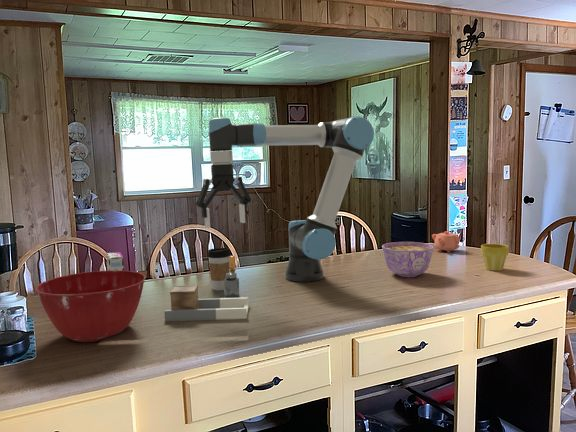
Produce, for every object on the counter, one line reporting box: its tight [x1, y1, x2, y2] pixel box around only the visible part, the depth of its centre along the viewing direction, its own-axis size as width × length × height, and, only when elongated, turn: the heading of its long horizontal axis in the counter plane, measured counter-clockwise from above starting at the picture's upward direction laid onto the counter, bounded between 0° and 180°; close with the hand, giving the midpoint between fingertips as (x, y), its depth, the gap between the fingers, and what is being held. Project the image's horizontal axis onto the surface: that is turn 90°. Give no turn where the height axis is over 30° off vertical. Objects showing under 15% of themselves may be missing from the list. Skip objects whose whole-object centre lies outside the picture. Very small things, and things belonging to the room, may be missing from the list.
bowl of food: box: [381, 241, 435, 278], centre depth 201 cm, size 20×20×12 cm
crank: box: [226, 255, 238, 280], centre depth 171 cm, size 9×4×6 cm, turn 1°
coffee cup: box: [207, 247, 231, 291], centre depth 187 cm, size 8×8×15 cm
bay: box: [164, 296, 250, 322], centre depth 155 cm, size 24×12×4 cm, turn 91°
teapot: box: [431, 230, 461, 254], centre depth 246 cm, size 12×12×10 cm
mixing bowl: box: [35, 270, 146, 343], centre depth 142 cm, size 28×28×16 cm
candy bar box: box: [106, 251, 125, 271], centre depth 173 cm, size 11×5×16 cm, turn 23°
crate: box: [169, 284, 199, 310], centre depth 155 cm, size 7×7×8 cm
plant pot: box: [480, 243, 510, 272], centre depth 207 cm, size 10×10×10 cm
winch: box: [219, 277, 247, 298], centre depth 169 cm, size 9×9×8 cm
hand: (225, 224), depth 177 cm, fingers open, 13 cm apart
